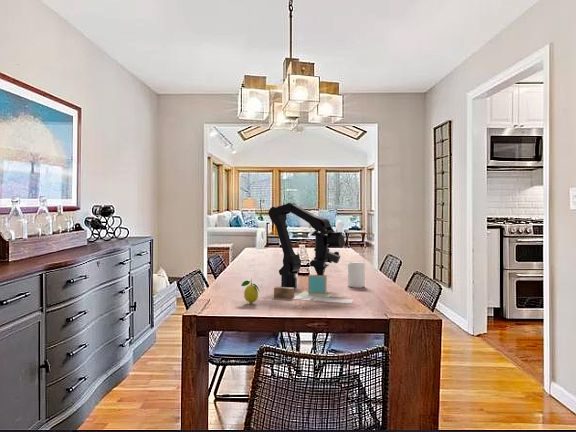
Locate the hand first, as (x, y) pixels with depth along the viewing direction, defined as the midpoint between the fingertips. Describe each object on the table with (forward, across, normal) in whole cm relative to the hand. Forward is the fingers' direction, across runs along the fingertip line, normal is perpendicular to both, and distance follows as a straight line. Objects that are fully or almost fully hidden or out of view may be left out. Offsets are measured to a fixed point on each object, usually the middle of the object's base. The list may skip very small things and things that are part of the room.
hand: (321, 280), depth 235 cm
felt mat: (+5, -10, 0) cm, 12 cm away
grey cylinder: (+5, +19, -13) cm, 24 cm away
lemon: (+5, -37, +20) cm, 42 cm away
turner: (+5, -21, +7) cm, 23 cm away
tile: (+5, -7, 0) cm, 8 cm away
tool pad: (+5, -20, -10) cm, 23 cm away
